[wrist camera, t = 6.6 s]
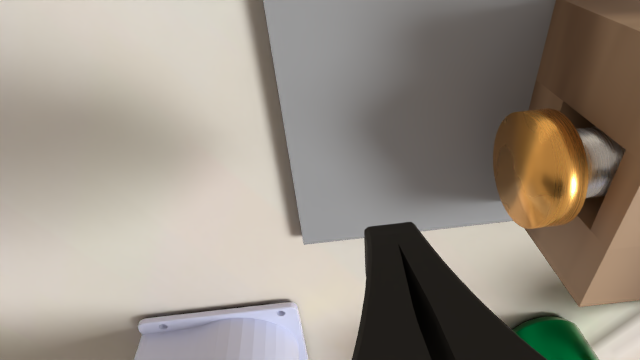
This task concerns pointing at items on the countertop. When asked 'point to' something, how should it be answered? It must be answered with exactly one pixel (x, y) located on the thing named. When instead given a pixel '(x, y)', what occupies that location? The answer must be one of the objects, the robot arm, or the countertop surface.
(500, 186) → the shaft
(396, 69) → the base plate
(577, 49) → the bearing block
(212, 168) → the countertop surface
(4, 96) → the countertop surface
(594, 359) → the soda can
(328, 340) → the countertop surface
